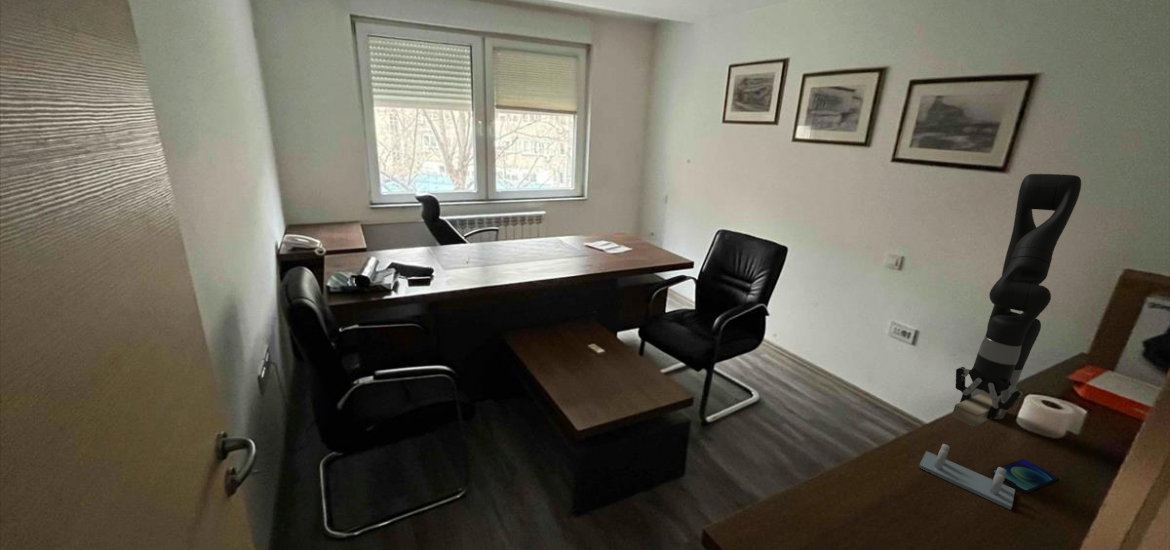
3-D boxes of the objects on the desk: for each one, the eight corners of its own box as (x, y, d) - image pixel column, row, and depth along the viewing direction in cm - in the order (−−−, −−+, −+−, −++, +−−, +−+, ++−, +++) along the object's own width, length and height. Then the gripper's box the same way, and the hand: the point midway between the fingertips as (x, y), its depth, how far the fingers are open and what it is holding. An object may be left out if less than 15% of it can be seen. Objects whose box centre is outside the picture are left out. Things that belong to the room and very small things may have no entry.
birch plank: (978, 403, 126) (982, 392, 125) (1000, 413, 122) (1005, 402, 121) (951, 415, 120) (955, 404, 119) (973, 426, 116) (977, 415, 115)
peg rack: (918, 467, 117) (924, 448, 115) (925, 454, 122) (931, 435, 120) (1010, 510, 105) (1019, 489, 103) (1013, 492, 110) (1022, 472, 108)
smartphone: (1060, 477, 115) (1026, 491, 110) (1058, 480, 116) (1025, 494, 110) (1023, 458, 122) (990, 470, 116) (1022, 460, 122) (989, 473, 117)
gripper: (957, 347, 120) (939, 402, 125) (1027, 372, 108) (1004, 432, 113) (971, 341, 123) (952, 395, 128) (1040, 365, 111) (1017, 423, 117)
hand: (977, 412), depth 121 cm, fingers closed on birch plank, 5 cm apart
